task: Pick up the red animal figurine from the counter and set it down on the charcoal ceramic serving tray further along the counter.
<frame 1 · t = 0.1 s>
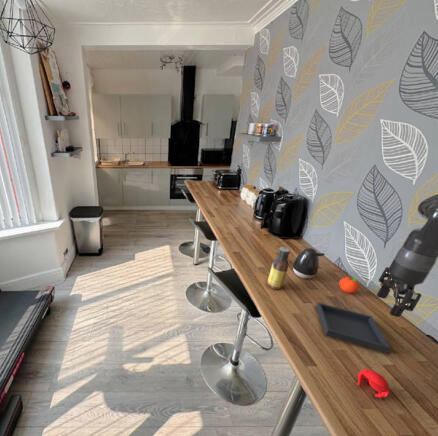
hand: (387, 305, 75), 17 cm above the table, tool pointing down, fingers open, 8 cm apart
sauce bottle: (273, 286, 108), on the table
red animal figurine: (368, 389, 68), on the table
tray: (348, 328, 88), on the table
clementine: (347, 291, 107), on the table
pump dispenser: (302, 275, 116), on the table
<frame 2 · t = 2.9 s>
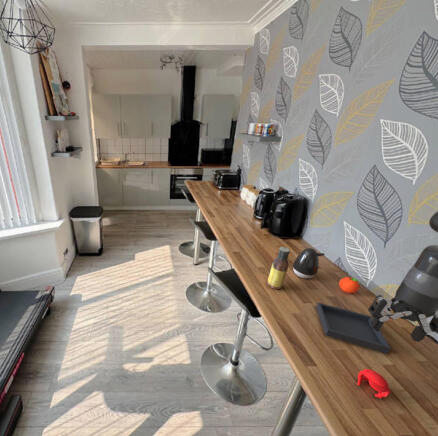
hand: (394, 333, 64), 18 cm above the table, tool pointing down, fingers open, 8 cm apart
nothing on the table moved.
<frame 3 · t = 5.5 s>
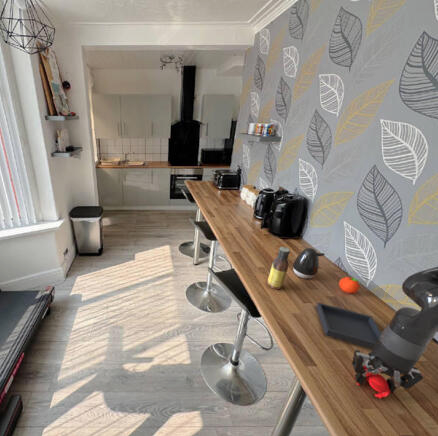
hand: (372, 386, 67), 2 cm above the table, tool pointing down, fingers closed on red animal figurine, 5 cm apart
red animal figurine: (368, 389, 68), on the table, touching gripper
everything else where it was.
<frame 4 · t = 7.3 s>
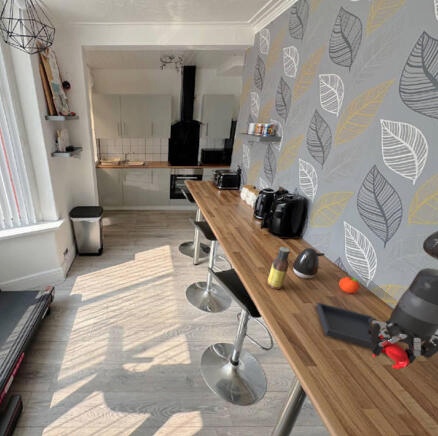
hand: (389, 357, 63), 13 cm above the table, tool pointing down, fingers closed on red animal figurine, 5 cm apart
red animal figurine: (384, 361, 64), point 11 cm above the table, touching gripper
everything else where it was.
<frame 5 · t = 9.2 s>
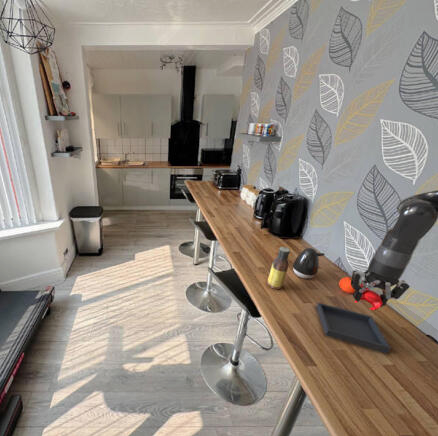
hand: (367, 302, 79), 15 cm above the table, tool pointing down, fingers closed on red animal figurine, 5 cm apart
red animal figurine: (364, 305, 80), point 13 cm above the table, touching gripper
everything else where it was.
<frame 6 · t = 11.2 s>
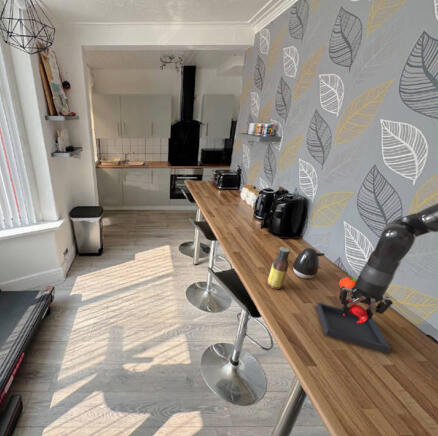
hand: (354, 315, 85), 6 cm above the table, tool pointing down, fingers closed on red animal figurine, 5 cm apart
red animal figurine: (351, 318, 86), point 5 cm above the table, touching gripper
everything else where it was.
when the fingers open (2 cm above the table, at t = 12.8 s): red animal figurine stays where it is, resting on tray.
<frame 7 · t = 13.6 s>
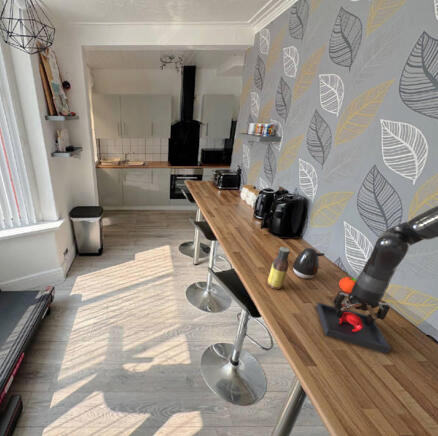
hand: (352, 320, 86), 4 cm above the table, tool pointing down, fingers open, 8 cm apart
red animal figurine: (347, 327, 87), resting on tray
everything else where it was.
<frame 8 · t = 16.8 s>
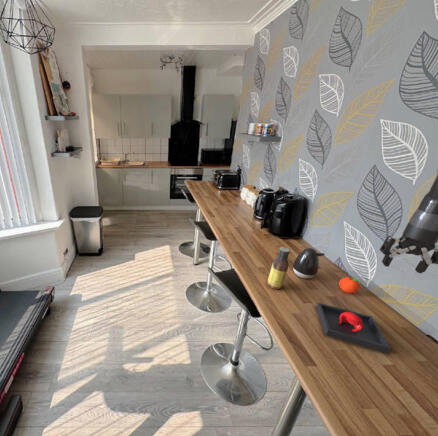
hand: (401, 268, 78), 26 cm above the table, tool pointing down, fingers open, 8 cm apart
nothing on the table moved.
at the end: red animal figurine inside the target area in the tray (0.3 cm from its centre), point 0.4 cm above the tray's base; the gripper is holding nothing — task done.
